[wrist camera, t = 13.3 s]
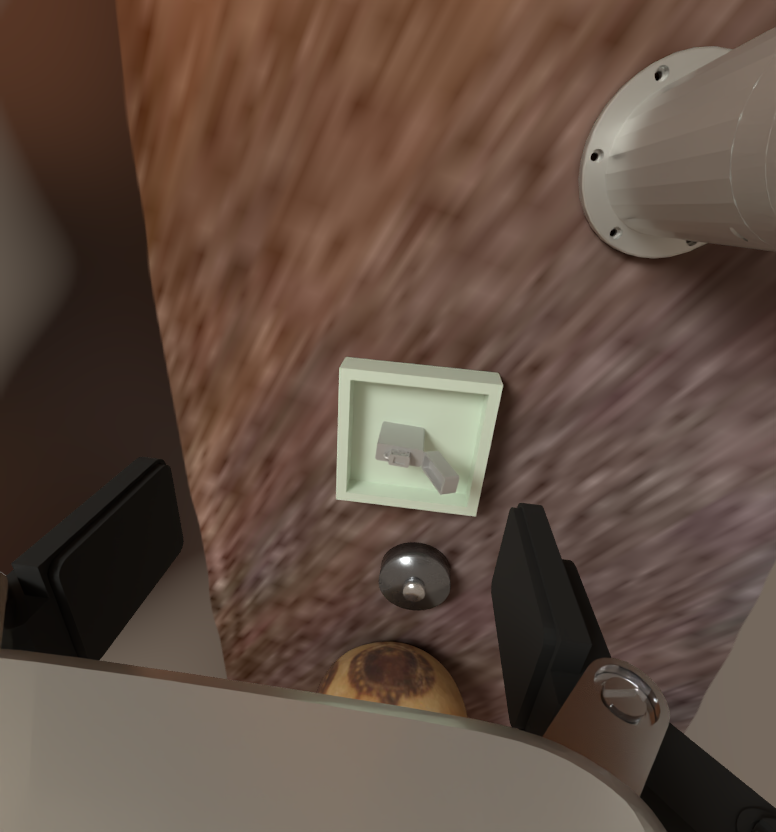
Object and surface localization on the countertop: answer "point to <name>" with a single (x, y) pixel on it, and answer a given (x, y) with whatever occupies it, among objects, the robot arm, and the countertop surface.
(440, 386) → the tray
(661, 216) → the robot arm
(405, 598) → the pot lid
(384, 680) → the clay pot
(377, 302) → the countertop surface
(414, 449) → the lighter
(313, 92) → the countertop surface
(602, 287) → the countertop surface
